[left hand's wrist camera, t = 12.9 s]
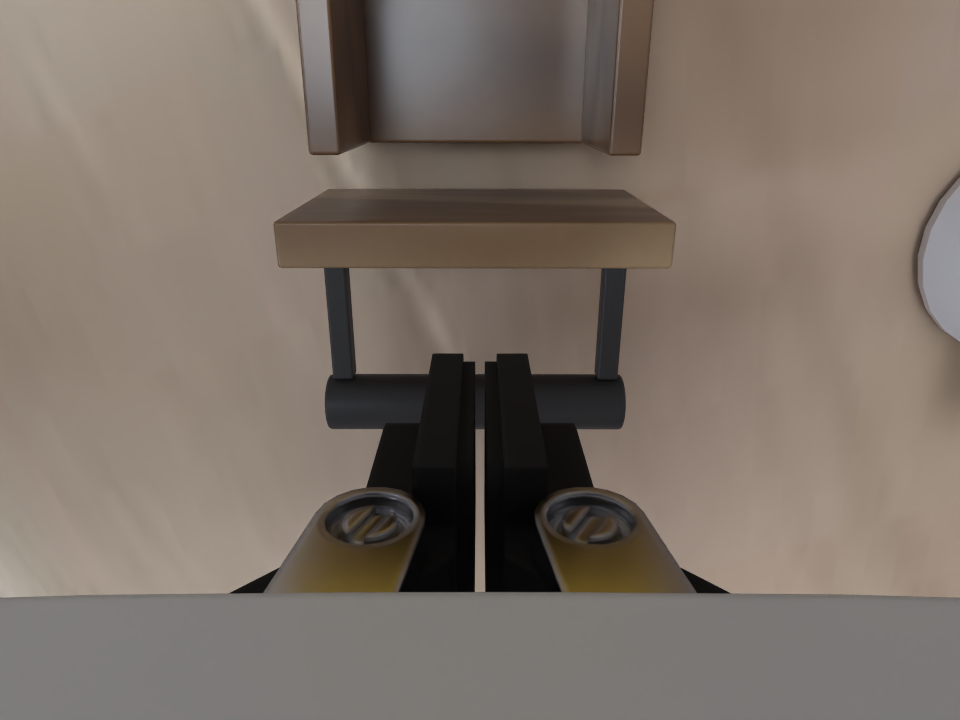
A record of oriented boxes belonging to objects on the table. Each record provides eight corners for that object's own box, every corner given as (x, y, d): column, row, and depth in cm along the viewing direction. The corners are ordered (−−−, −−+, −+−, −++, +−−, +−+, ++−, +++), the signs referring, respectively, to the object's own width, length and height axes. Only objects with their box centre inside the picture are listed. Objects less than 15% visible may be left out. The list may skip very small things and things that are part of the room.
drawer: (610, 367, 25) (652, 451, 19) (341, 366, 25) (297, 451, 19) (675, -446, 17) (783, -745, 11) (276, -448, 17) (164, -746, 11)
